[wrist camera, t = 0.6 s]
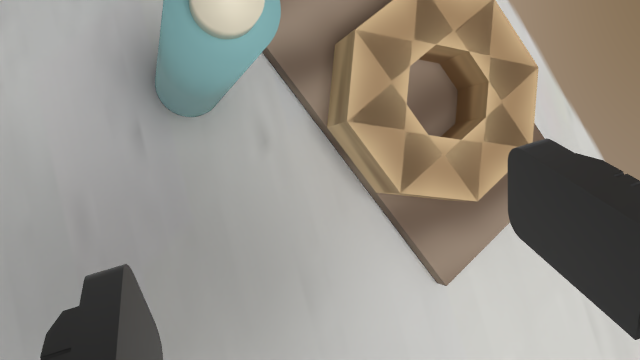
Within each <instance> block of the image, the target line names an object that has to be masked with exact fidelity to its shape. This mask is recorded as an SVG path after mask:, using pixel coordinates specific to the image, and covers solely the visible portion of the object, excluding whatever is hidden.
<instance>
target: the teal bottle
mask: <svg viewBox="0 0 640 360" xmlns="http://www.w3.org/2000/svg"><path fill="white" fill-rule="evenodd" d="M280 17H281V6H280V0H164V2H163V11H162V20H161V30H160V39H159V48H158V58H157V67H156V76H155V88H156V92H157V95H158V97H159V99H160V100H161V102H162V103H163V104H164V106H165V107H166V108H168V109H169V110H170V111H172V112H173V113H176V114H178V115H181V116H185V117H196V116H200V115H203V114H205V113H207V112H209V111H210V110H211V109H212V108H214V106H215V105H216V104H217V103H218V102H219V101H220V100H221V98H222V97H223V96H224V95H225V94H226V93H227V92H228V90H229V89H230V88H231V87H232V86H233V85H234V84H235V82H236V81H237V80H238V79H239V78H240V77H241V76H242V74H243V73H244V72H245V71H246V70H247V69H248V68H249V66H250V65H251V64H252V63H253V62H254V61H255V60H256V58H257V57H258V56H259V55H260V54H261V53H262V52H263V50H264V49H265V48H266V47H267V46H268V45H269V44H270V42H271V41H272V39H273V38H274V36H275V34H276V32H277V29H278V26H279V23H280Z"/></svg>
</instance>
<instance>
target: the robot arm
mask: <svg viewBox="0 0 640 360" xmlns="http://www.w3.org/2000/svg"><path fill="white" fill-rule="evenodd" d="M508 216H509V220H510V223H511V225H512V227H513V229H514V231H515V233H516V234H517V235H518V237H519V238H520V239H521V240H522V241H524V242H525V243H526V244H527V245H528V246H529V247H530V248H532V249H533V250H534V251H535V252H536V253H537V254H538V255H539V256H541V257H542V258H543V259H544V260H545V261H546V262H547V263H549V264H550V265H551V266H552V267H553V268H554V269H555V270H556V271H558V272H559V273H560V274H561V275H562V276H563V277H564V278H566V279H567V280H568V281H569V282H570V283H571V284H572V285H573V286H575V287H576V288H577V289H578V290H579V291H580V292H581V293H583V294H584V295H585V296H586V297H587V298H588V299H589V300H590V301H592V302H593V303H594V304H595V305H596V306H597V307H598V308H600V309H601V310H602V311H603V312H604V313H605V314H606V315H607V316H609V317H610V318H611V319H612V320H613V321H614V322H615V323H617V324H618V325H619V326H620V327H621V328H622V329H623V330H624V331H626V332H627V333H628V334H629V335H630V336H631V337H632V338H634V339H635V340H637V339H640V181H639V180H637V179H636V178H634V177H632V176H630V175H628V174H625V175H624V174H623V171H621V170H619V169H617V168H616V167H614V166H612V165H610V164H608V163H606V162H605V161H603V160H599V159H596V158H592V157H588V156H584V155H581V154H577V153H576V154H575V153H573V152H572V151H570V150H568V149H566V148H565V147H563V146H561V145H559V144H558V143H556V142H554V141H552V140H550V139H542V140H539V141H536V142H532V143H529V144H526V145H522V146H519V147H516V148H513V149H512V150H511V151H510V152H509V155H508ZM40 358H41V360H163V353H162V346H161V341H160V337H159V333H158V330H157V327H156V324H155V322H154V319H153V317H152V315H151V313H150V310H149V308H148V306H147V303H146V301H145V299H144V297H143V294H142V292H141V290H140V287H139V285H138V283H137V281H136V278H135V276H134V274H133V272H132V270H131V268H130V267H129V266H128V265H127V264H124V265H121V266H118V267H114V268H111V269H108V270H104V271H101V272H98V273H94V274H91V275H88V276H86V277H85V279H84V284H83V289H82V294H81V300H80V305H79V306H78V307H75V308H71V309H68V310H65V311H63V312H62V313H61V314H60V316H59V317H58V319H57V320H56V321H55V323H54V324H53V325H52V327H51V328H50V330H49V331H48V332H47V334H46V337H45V341H44V345H43V349H42V352H41V356H40Z"/></svg>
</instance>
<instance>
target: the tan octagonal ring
mask: <svg viewBox="0 0 640 360" xmlns="http://www.w3.org/2000/svg"><path fill="white" fill-rule="evenodd" d="M418 59H419V60H424V61H429V62H434V63H439V64H440V65H441V67H442V68H443V70H444V71H445V73H446V74H447V75H448V77H449V78H450V80H451V81H452V83H453V84H454V86H455V87H456V89H457V90H458V96H457V108H456V120H455V124H454V125H453V126H452V127H451V128H450V129H449V130H448V131H446V132H445V133H444V134H443V135H442V136H441V137H439V136H432V135H428V134H427V132H426V131H425V130H424V128H423V127H422V125H421V124H420V123H419V121H418V120H417V118H416V117H415V115H414V114H413V113H412V111H411V110H410V108H409V107H408V106H407V94H408V83H409V71H410V66H411V65H412V64H413V63H414V62H416V61H417V60H418ZM537 78H538V66H537V64H536V63H535V61H534V60H533V58H532V57H531V55H530V54H529V52H528V50H527V49H526V47H525V46H524V44H523V43H522V41H521V40H520V38H519V36H518V35H517V33H516V32H515V30H514V29H513V27H512V26H511V24H510V22H509V21H508V19H507V18H506V16H505V15H504V13H503V12H502V10H501V8H500V7H499V5H498V4H497V2H496V1H495V0H392V1H391V2H389V3H388V4H387V5H385V6H384V7H383V8H382V9H380V10H379V11H378V12H376V13H375V14H374V15H373V16H371V17H370V18H369V19H367V20H366V21H365V22H364V23H362V24H361V25H360V26H358V27H357V28H356V29H355V30H353V31H352V32H351V33H349V34H348V35H347V36H346V37H344V38H343V39H342V40H340V41H339V42H338V43H337V44H335V50H334V60H333V71H332V81H331V92H330V103H329V113H328V124H327V128H328V129H329V131H330V132H331V133H332V135H333V136H334V137H335V139H336V140H337V141H338V143H339V144H340V145H341V147H342V148H343V149H344V151H345V152H346V153H347V155H348V156H349V157H350V159H351V160H352V161H353V163H354V164H355V165H356V167H357V168H358V169H359V171H360V172H361V173H362V175H363V176H364V177H365V179H366V180H367V181H368V182H369V184H370V185H371V186H372V188H373V189H374V190H375V192H376V193H384V194H394V195H403V196H413V197H422V198H432V199H441V200H454V201H479V200H480V199H481V198H482V197H483V196H484V195H485V194H486V193H487V192H488V191H489V190H490V189H491V188H492V187H493V186H494V185H495V184H496V183H497V182H498V181H499V180H500V179H501V178H502V177H503V176H504V175H505V174H506V173H507V172H508V155H509V152H510V151H511V150H512V149H513V148H516V147H519V146H522V145H526V144H529V143H532V142H533V130H534V117H535V104H536V91H537Z"/></svg>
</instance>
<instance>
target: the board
mask: <svg viewBox="0 0 640 360" xmlns="http://www.w3.org/2000/svg"><path fill="white" fill-rule="evenodd" d="M391 1H392V0H280V6H281V17H280V23H279V26H278V29H277V32H276V34H275V36H274V38H273V39H272V41H271V42H270V44H269V45H268V46H267V47H266V48H265V49H264V50H263V53H264V55H265V56H266V57H267V59H268V60H269V61H270V63H271V64H272V65H273V67H274V68H275V69H276V70H277V72H278V73H279V74H280V76H281V77H282V78H283V80H284V81H285V82H286V84H287V85H288V86H289V88H290V89H291V90H292V92H293V93H294V94H295V96H296V97H297V98H298V100H299V101H300V102H301V104H302V105H303V106H304V107H305V109H306V110H307V111H308V113H309V114H310V115H311V117H312V118H313V119H314V121H315V122H316V123H317V125H318V126H319V127H320V129H321V130H322V131H323V133H324V134H325V135H326V137H327V138H328V139H329V140H330V142H331V143H332V144H333V146H334V147H335V148H336V150H337V151H338V152H339V154H340V155H341V156H342V158H343V159H344V160H345V162H346V163H347V164H348V166H349V167H350V168H351V170H352V171H353V172H354V174H355V175H356V176H357V177H358V179H359V180H360V181H361V183H362V184H363V185H364V187H365V188H366V189H367V191H368V192H369V193H370V195H371V196H372V197H373V199H374V200H375V201H376V203H377V204H378V205H379V207H380V208H381V209H382V210H383V212H384V213H385V214H386V216H387V217H388V218H389V220H390V221H391V222H392V224H393V225H394V226H395V228H396V229H397V230H398V232H399V233H400V234H401V236H402V237H403V238H404V240H405V241H406V242H407V244H408V245H409V246H410V247H411V249H412V250H413V251H414V253H415V254H416V255H417V257H418V258H419V259H420V261H421V262H422V263H423V265H424V266H425V267H426V269H427V270H428V271H429V273H430V274H431V275H432V277H433V278H434V279H435V281H436V282H437V283H439V284H442V285H445V286H447V285H448V284H449V283H450V282H451V281H452V280H453V279H454V278H455V277H456V276H457V275H458V274H459V273H460V272H461V271H462V270H463V269H464V268H465V267H466V266H467V265H468V264H469V263H470V262H471V261H472V260H473V259H474V258H475V257H476V256H477V255H478V254H479V253H480V252H481V251H482V250H483V249H484V248H485V247H486V246H487V245H488V244H489V243H490V242H491V241H492V240H493V239H494V238H495V237H496V236H497V235H498V234H499V233H500V232H501V231H502V230H503V229H504V228H505V227H506V226H507V225H508V224H509V223H510V220H509V216H508V172H507V173H506V174H505V175H504V176H503V177H502V178H501V179H500V180H499V181H498V182H497V183H496V184H495V185H494V186H493V187H492V188H491V189H490V190H489V191H488V192H487V193H486V194H485V195H484V196H483V197H482V198H481V199H480V200H479V201H454V200H441V199H432V198H422V197H413V196H403V195H394V194H384V193H376V192H375V190H374V189H373V188H372V186H371V185H370V184H369V182H368V181H367V180H366V179H365V177H364V176H363V175H362V173H361V172H360V171H359V169H358V168H357V167H356V165H355V164H354V163H353V161H352V160H351V159H350V157H349V156H348V155H347V153H346V152H345V151H344V149H343V148H342V147H341V145H340V144H339V143H338V141H337V140H336V139H335V137H334V136H333V135H332V133H331V132H330V131H329V129H328V128H327V124H328V113H329V103H330V92H331V81H332V71H333V60H334V50H335V44H337V43H338V42H339V41H340V40H342V39H343V38H344V37H346V36H347V35H348V34H349V33H351V32H352V31H353V30H355V29H356V28H357V27H358V26H360V25H361V24H362V23H364V22H365V21H366V20H367V19H369V18H370V17H371V16H373V15H374V14H375V13H376V12H378V11H379V10H380V9H382V8H383V7H384V6H385V5H387V4H388V3H389V2H391ZM457 96H458V90H457V89H456V87H455V86H454V84H453V83H452V81H451V80H450V78H449V77H448V75H447V74H446V73H445V71H444V70H443V68H442V67H441V65H440V64H439V63H434V62H429V61H424V60H419V59H418V60H417V61H416V62H414V63H413V64H412V65H411V66H410V71H409V83H408V94H407V106H408V107H409V108H410V110H411V111H412V113H413V114H414V115H415V117H416V118H417V120H418V121H419V123H420V124H421V125H422V127H423V128H424V130H425V131H426V132H427V134H428V135H432V136H439V137H441V136H442V135H443V134H444V133H445V132H446V131H448V130H449V129H450V128H451V127H452V126H453V125H454V124H455V120H456V108H457ZM542 139H544V137H543V136H542V134H541V133H540V131H539V130H538V128H537V127H536V125H535V123H534V130H533V142H536V141H539V140H542Z"/></svg>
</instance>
